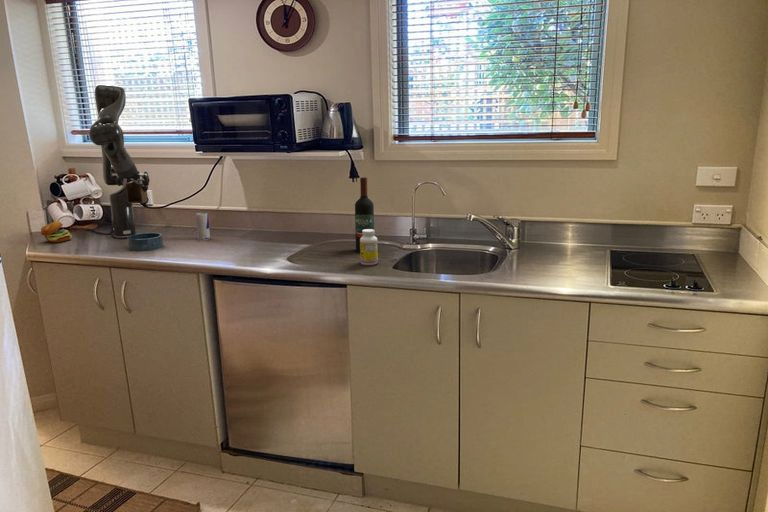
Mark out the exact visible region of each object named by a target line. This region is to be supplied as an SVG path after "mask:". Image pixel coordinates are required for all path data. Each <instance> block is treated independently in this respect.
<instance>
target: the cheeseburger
mask: <svg viewBox="0 0 768 512" xmlns="http://www.w3.org/2000/svg"><path fill="white" fill-rule="evenodd" d="M63 225H64V224H63V223H62V222H60V221H58V220H55V221H52V222H51V223H48V224H45V225H43V226H42V227H41V228H40V235H42V236H43V237H44V238H45V240H47V242H49V243H51V244H57V243H62V242H65V241H68V240H69V241H70V240H71V239H72V234H71V233H70V231H69V230H68V229H64V228H62V227H63ZM61 228H62V229H61Z"/></svg>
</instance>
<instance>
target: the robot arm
mask: <svg viewBox="0 0 768 512" xmlns="http://www.w3.org/2000/svg"><path fill="white" fill-rule="evenodd" d="M126 98H127V97H126V91H125V89H124V87H122V86H121V85H120V86H119V85H114V84H113V85H112V84H103V83H102V84H99V83H98V84H96V86H95V88H94V101H95V107H96V113H97V119H96V120H95V121H94V122H93V123H92V125H91V126H90V128H89V130H88V136H89V140H90V142H92V143H93V145H95V146H100V149H101V154H102V156H101V157H102V158H101V159H102V177H103V182H104V184H105V185H107V186H118V187H121V188H120V189H118V190H117V191H113V192H111V193H110V194H109V202H110V212H111V217H110V218H111V226H110V232H108V233H107V232H106V233H105V232H101V231H97V230H96V229H93V228H87V227H72V228H71V230H83V231H84V230H85V231H86V230H87V231H92V232H94V233H96V234H100V235H103V236H105V235H106V236H107V235H112V234H113V237H114V238H116V239H127V237H128V236H130V235H134V234H137V230H136V222H135V215H134V214H135V213H134V206H133V205H134V204H133V203H128V202H127V193H126V183H130V182H135V183H137V184H141V186H142V188H143V189H144V191H145V192H147V193H148V190H149V185H150V180H151V179H150V177H149V176H150V175H149V173H148V171H143V172H140V171H139V170H138V168H137V166H136V164H135V162H134V161H133V159H132V156H131V155H130V154H129V152H128V151H127V150H126V147H125V136H124V131H123V129H122V127H121V126H120V125H119V121H120V116H121V115H122V113H123V111H124V109H125V106H126V100H127V99H126Z"/></svg>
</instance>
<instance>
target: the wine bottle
mask: <svg viewBox="0 0 768 512" xmlns="http://www.w3.org/2000/svg"><path fill="white" fill-rule="evenodd" d="M359 183H360V185H359V187H360V197H359V198H358V199H357V200H356V201H355V203H354V225H355V226H354V227H355V230H354V231H355V252H357V253H360V238H361V237H363V234H362V230H365V229H373V230H375V214H374V213H375V212H374V211H375V210H374V209H375V208H374V206H375V205H374V202H373V201H372V200H371V199H370V198H369V196H368V177H366V176H364V177H360V178H359Z"/></svg>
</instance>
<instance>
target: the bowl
mask: <svg viewBox="0 0 768 512" xmlns="http://www.w3.org/2000/svg"><path fill="white" fill-rule="evenodd" d="M126 239H127V248H128V250H129V251H132V252H147V251H154V250H158V249H161V248H163V247H164V240H163V234H162V233H160V232H139V233H136V234H134V235H130V236H128V237H127V238H126Z"/></svg>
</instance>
